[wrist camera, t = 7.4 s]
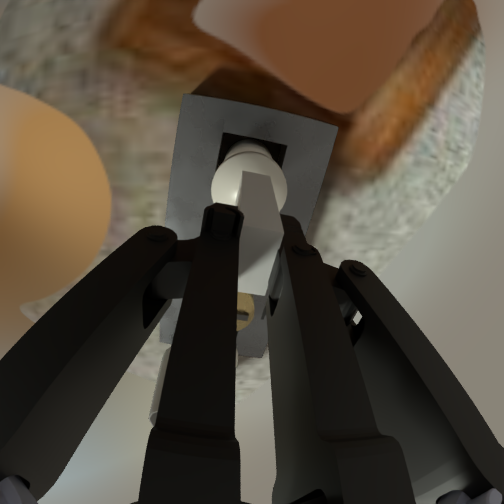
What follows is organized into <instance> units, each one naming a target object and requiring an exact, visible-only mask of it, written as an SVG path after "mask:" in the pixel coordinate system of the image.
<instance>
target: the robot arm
mask: <svg viewBox="0 0 504 504" xmlns="http://www.w3.org/2000/svg"><path fill="white" fill-rule="evenodd" d="M267 287H269V294H268V297H267V300H266V304H265V307H264V310H263V313H262V316H261V320H264V317H265V315H266V317H267V331H268V345H269V360H270V374H271V389H272V403H273V420H274V436H275V450H276V469H277V475H276V481H275V484H274V487H273V492H272V504H504V448H503V447H502V446H501V445H500V444H499V443H498V441H497V439H496V438H495V436H494V434H493V433H492V431H491V430H490V428H489V426H488V425H487V423H486V422H485V420H484V418H483V417H482V415H481V414H480V412H479V411H478V409H477V407H476V406H475V405H474V403H473V401H472V400H471V399H470V397H469V395H468V394H467V393H466V391H465V390H464V388H463V387H462V385H461V384H460V382H459V381H458V380H457V378H456V377H455V375H454V374H453V372H452V371H451V370H450V368H449V367H448V365H447V364H446V363H445V362H444V360H443V359H442V357H441V356H440V355H439V353H438V352H437V351H436V349H435V348H434V346H433V345H432V344H431V343H430V341H429V340H428V339H427V337H426V336H425V335H424V333H423V332H422V331H421V330H420V328H419V327H418V326H417V324H416V323H415V322H414V321H413V319H412V318H411V317H410V316H409V314H408V313H407V312H406V311H405V309H404V308H403V307H402V306H401V305H400V303H399V302H398V301H397V300H396V299H395V297H394V296H393V295H392V294H391V292H390V291H389V290H388V289H387V288H386V287H385V285H384V284H383V283H382V282H381V281H380V279H379V278H378V277H377V276H376V275H375V274H374V273H373V271H372V270H371V269H370V268H368V267H367V266H366V265H364V264H363V263H361V262H358V261H356V260H344V261H343V262H341V265H340V267H339V269H338V268H336V267H333V266H330V265H328V264H325V263H323V261H322V258H321V255H320V253H319V252H318V250H317V249H316V248H314V247H313V246H311V245H309V244H307V241H306V238H305V236H304V234H303V230H302V227H301V224H300V222H299V221H298V220H297V219H296V218H295V217H294V216H289V215H284V214H280V213H279V209H278V205H277V201H276V197H275V193H274V189H273V185H272V181H271V177H270V176H268V175H263V174H258V173H253V172H248V171H243V170H242V175H241V179H240V184H239V188H238V193H237V198H236V203H235V206H234V205H228V204H223V203H217V202H215V203H214V204H212V205H210V206H207V207H206V208H205V209H204V213H203V220H202V226H201V232H200V236H198V237H196V238H194V239H188V240H178V237H177V234H176V233H175V232H174V231H173V230H171V229H169V228H167V227H162V226H158V225H157V226H156V225H155V226H149V227H145V228H143V229H141V230H139V231H138V232H137V233H136V234H134V235H133V236H132V237H131V238H129V239H128V240H127V241H126V242H125V243H123V244H122V245H121V246H120V247H119V248H117V249H116V250H115V251H114V252H113V253H111V254H110V255H109V256H108V257H107V258H105V259H104V260H103V261H102V262H101V263H100V264H98V265H97V266H96V267H95V268H94V269H93V270H92V271H90V272H89V273H88V274H87V275H86V276H85V277H84V278H83V279H81V280H80V281H79V282H78V283H77V284H76V285H75V286H74V287H73V288H72V289H70V290H69V291H68V292H67V293H66V294H65V295H64V296H63V297H62V298H61V299H60V300H59V301H58V302H57V303H56V304H54V305H53V306H52V307H51V308H50V309H49V310H48V311H47V312H46V313H45V314H44V315H43V316H42V317H41V318H40V319H39V320H38V321H37V322H36V323H35V324H34V325H33V326H32V327H31V328H30V329H29V330H28V331H27V332H26V334H24V335H23V336H22V337H21V338H20V340H19V341H18V342H17V343H16V344H15V345H14V346H13V347H12V348H11V349H10V350H9V351H8V352H7V353H6V354H5V356H4V357H3V358H2V359H1V360H0V504H38V503H37V501H38V500H39V499H40V498H42V497H43V496H44V495H45V494H46V493H47V492H48V491H49V489H50V488H51V487H52V486H53V485H54V484H55V482H56V481H57V479H58V478H59V476H60V475H61V473H62V472H63V471H64V469H65V467H66V466H67V464H68V462H69V461H70V459H71V457H72V456H73V454H74V452H75V451H76V449H77V447H78V445H79V444H80V442H81V441H82V439H83V437H84V436H85V434H86V433H87V431H88V429H89V428H90V426H91V424H92V423H93V421H94V420H95V418H96V417H97V415H98V413H99V412H100V410H101V409H102V407H103V405H104V404H105V402H106V401H107V399H108V398H109V396H110V395H111V393H112V392H113V390H114V388H115V387H116V385H117V384H118V382H119V381H120V379H121V378H122V376H123V375H124V373H125V372H126V370H127V369H128V367H129V366H130V364H131V363H132V361H133V360H134V358H135V357H136V355H137V354H138V352H139V351H140V349H141V348H142V346H143V345H144V343H145V342H146V340H147V339H148V337H149V336H150V334H151V333H152V331H153V330H154V328H155V327H156V326H157V324H158V323H159V321H160V320H161V318H162V317H163V315H164V314H165V313H166V311H167V310H168V308H169V307H170V305H171V303H172V300H173V299H180V298H183V299H182V303H181V307H180V312H179V316H178V320H177V324H176V328H175V332H174V337H173V341H172V345H171V350H170V354H169V359H168V363H167V368H166V373H165V377H164V382H163V387H162V392H161V397H160V402H159V407H158V412H157V417H156V422H155V425H154V427H153V428H152V429H151V432H150V435H149V439H148V443H147V448H146V454H145V461H144V466H143V472H142V478H141V485H140V492H139V499H138V501H137V502H134V503H131V504H250V503H245V502H242V501H241V500H240V499H241V496H240V495H241V494H240V447H239V442H238V441H237V439H236V438H235V429H234V426H235V376H236V335H237V300H238V292H243V293H249V294H256V295H262V296H265V294H266V290H267ZM357 311H359V312H360V314H361V315H362V318H361V320H360V321H359V323H358V324H357V325H356V324H355V322H354V321H353V318H354V316H355V315H356V313H357Z"/></svg>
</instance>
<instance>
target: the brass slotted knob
mask: <svg viewBox="0 0 504 504" xmlns="http://www.w3.org/2000/svg"><path fill="white" fill-rule="evenodd" d="M253 317H254V296H253V294H249V293H243V292H238V300H237V331H239V330H241V329H243V328H245V327H246V326H248V325H249V324H250V323H251V321H252V320H253Z"/></svg>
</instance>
